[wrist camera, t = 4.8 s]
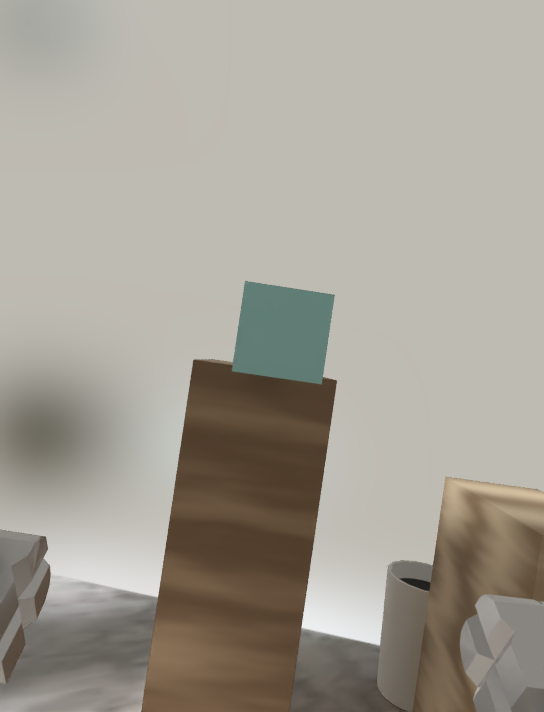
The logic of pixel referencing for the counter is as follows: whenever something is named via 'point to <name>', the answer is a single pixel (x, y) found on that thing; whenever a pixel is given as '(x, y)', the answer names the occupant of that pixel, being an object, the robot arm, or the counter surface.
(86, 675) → the counter surface
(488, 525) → the zigzag patterned block
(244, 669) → the post
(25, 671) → the counter surface
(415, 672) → the white coffee cup
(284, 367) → the rail
